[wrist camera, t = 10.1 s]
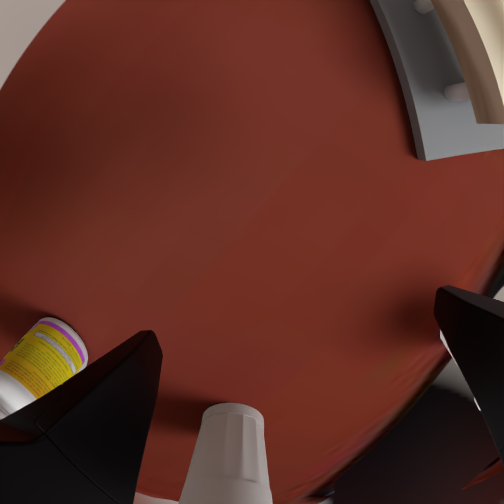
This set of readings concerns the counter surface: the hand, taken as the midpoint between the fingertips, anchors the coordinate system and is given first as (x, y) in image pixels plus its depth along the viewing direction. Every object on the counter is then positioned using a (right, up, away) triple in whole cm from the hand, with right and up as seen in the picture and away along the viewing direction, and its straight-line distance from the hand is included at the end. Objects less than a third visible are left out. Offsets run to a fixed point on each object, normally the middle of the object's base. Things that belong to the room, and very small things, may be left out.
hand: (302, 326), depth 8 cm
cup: (-3, -15, +19) cm, 24 cm away
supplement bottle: (-20, -7, +16) cm, 27 cm away
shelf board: (+13, +16, +2) cm, 20 cm away
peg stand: (+13, +17, +6) cm, 22 cm away
